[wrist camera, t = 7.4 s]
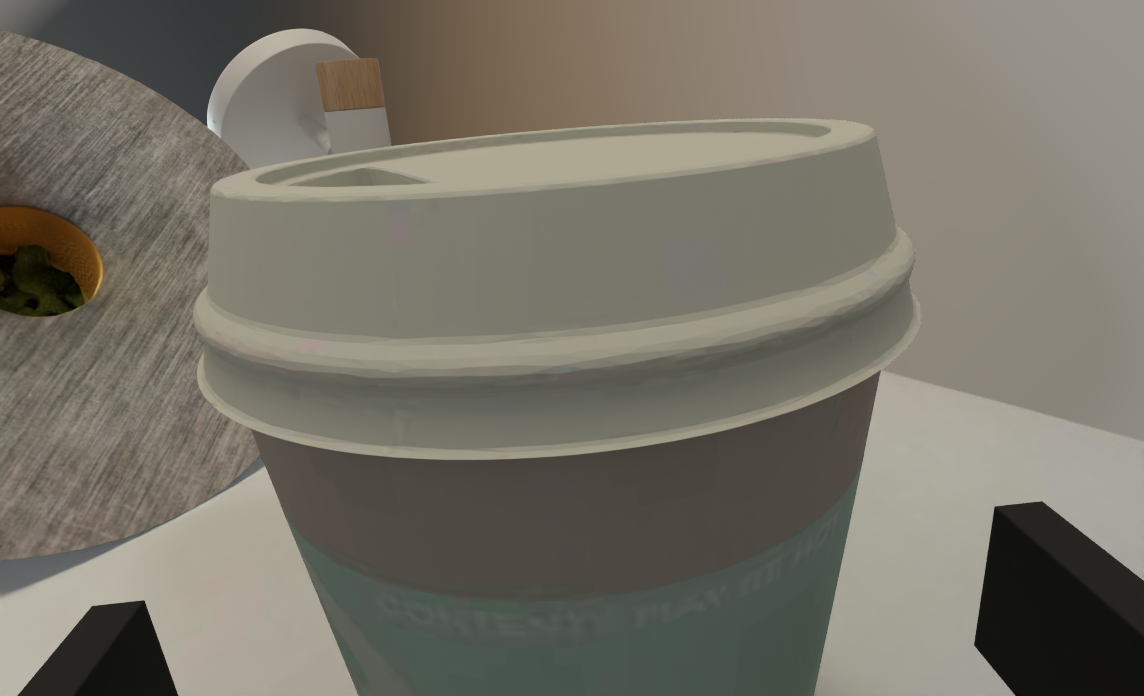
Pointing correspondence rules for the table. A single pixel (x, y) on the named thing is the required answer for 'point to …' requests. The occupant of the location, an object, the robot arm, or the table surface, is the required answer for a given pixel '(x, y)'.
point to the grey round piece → (102, 305)
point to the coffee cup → (566, 395)
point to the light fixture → (298, 100)
